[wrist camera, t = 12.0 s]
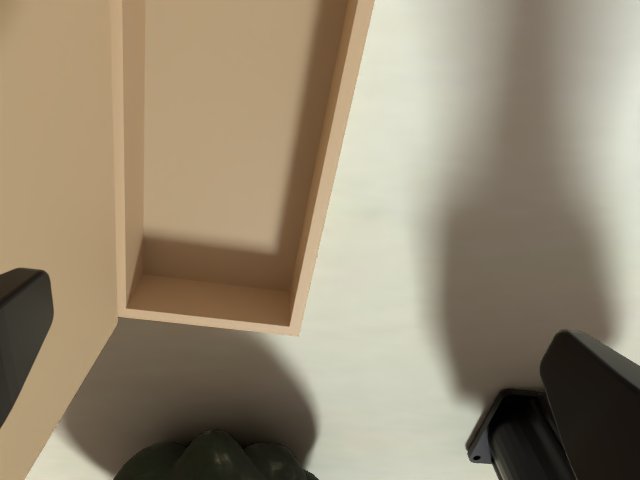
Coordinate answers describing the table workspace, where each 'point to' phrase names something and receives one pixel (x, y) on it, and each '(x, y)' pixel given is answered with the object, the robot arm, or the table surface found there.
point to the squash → (214, 461)
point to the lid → (57, 199)
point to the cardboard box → (227, 153)
